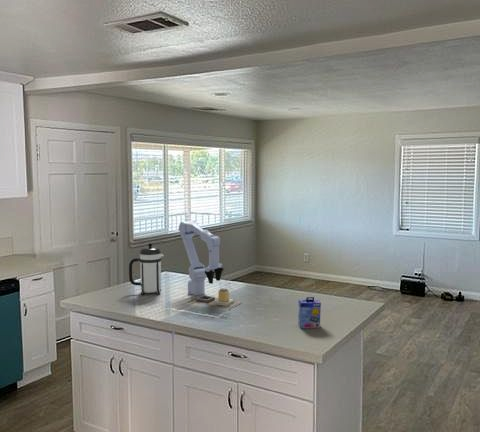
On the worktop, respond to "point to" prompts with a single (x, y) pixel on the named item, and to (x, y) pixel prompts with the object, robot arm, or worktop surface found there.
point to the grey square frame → (203, 299)
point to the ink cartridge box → (309, 313)
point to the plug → (223, 295)
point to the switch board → (216, 304)
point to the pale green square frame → (224, 302)
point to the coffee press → (148, 270)
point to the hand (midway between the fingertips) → (214, 281)
